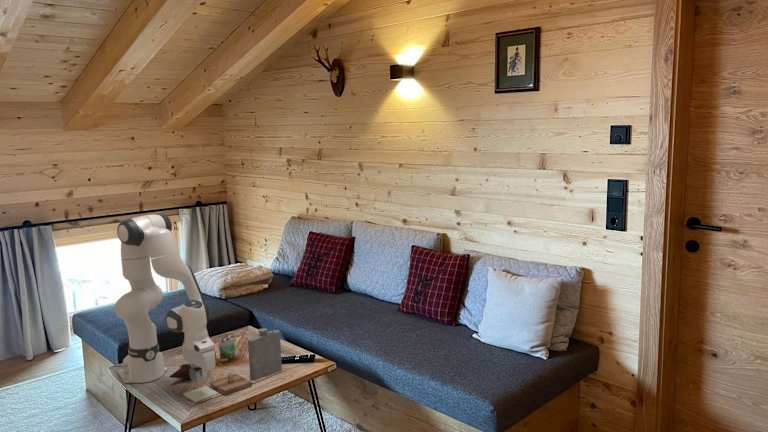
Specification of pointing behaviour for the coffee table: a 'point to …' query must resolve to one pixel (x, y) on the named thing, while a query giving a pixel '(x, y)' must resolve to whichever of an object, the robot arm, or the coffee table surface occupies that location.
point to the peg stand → (230, 384)
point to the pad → (200, 393)
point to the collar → (197, 374)
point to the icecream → (182, 372)
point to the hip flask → (264, 354)
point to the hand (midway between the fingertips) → (199, 374)
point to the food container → (227, 348)
